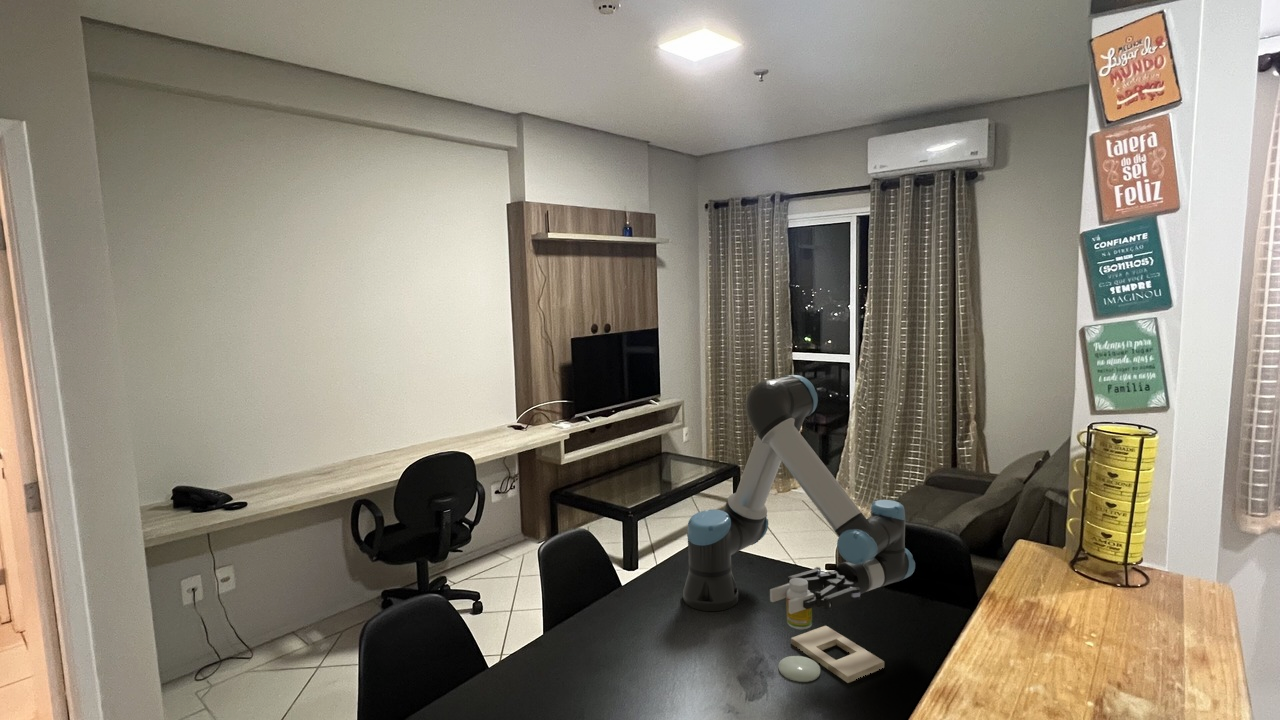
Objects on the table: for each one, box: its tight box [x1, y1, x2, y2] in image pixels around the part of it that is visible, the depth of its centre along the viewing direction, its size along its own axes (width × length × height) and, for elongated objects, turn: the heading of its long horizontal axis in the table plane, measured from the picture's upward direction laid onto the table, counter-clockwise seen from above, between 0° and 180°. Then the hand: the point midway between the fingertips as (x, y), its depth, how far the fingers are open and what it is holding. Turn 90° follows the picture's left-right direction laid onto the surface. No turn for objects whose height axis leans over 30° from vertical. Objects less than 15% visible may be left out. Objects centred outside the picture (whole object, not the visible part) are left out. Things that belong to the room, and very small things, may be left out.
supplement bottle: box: [786, 578, 813, 630], centre depth 141 cm, size 5×5×10 cm
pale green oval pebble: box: [778, 655, 821, 683], centre depth 143 cm, size 9×9×1 cm
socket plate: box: [790, 625, 885, 684], centre depth 148 cm, size 18×11×2 cm, turn 28°
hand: (780, 601), depth 138 cm, fingers closed on supplement bottle, 5 cm apart
